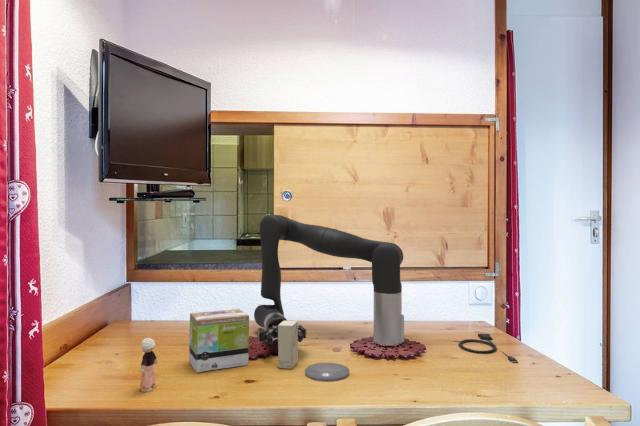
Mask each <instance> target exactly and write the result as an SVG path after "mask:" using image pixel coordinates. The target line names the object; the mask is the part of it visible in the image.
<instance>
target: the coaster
mask: <svg viewBox="0 0 640 426" xmlns="http://www.w3.org/2000/svg"><path fill="white" fill-rule="evenodd" d="M304 375H305V376H306V377H307V378H309V379H311V380H314V381H318V382H337V381H341V380H344V379H346V378H347V377H348V376H349V375H350V369H349V367H347V366H346V365H343V364H341V363H335V362H318V363H313V364H310V365H308V366H307V367H305V369H304Z"/></svg>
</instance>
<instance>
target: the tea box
mask: <svg viewBox="0 0 640 426" xmlns="http://www.w3.org/2000/svg"><path fill="white" fill-rule="evenodd" d="M188 343H189V344H188V345H189V346H188V347H189V349H188V350H189V351H188V354H189V355H188V362H189V364H190V365H191V367H192V368H193V370H194V371H195V372H196V374H197V373H202V372H207V371H215V370H221V369H229V368H236V367H246V366H248V365H249V356H250V355H249V353H250V348H249V347H250V315H249V314H248V313H245V312H244V311H243V310H241V309H240V308H233V309H223V310H222V309H221V310H212V311H201V312H199V311H198V312H191V313H189V342H188Z"/></svg>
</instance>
